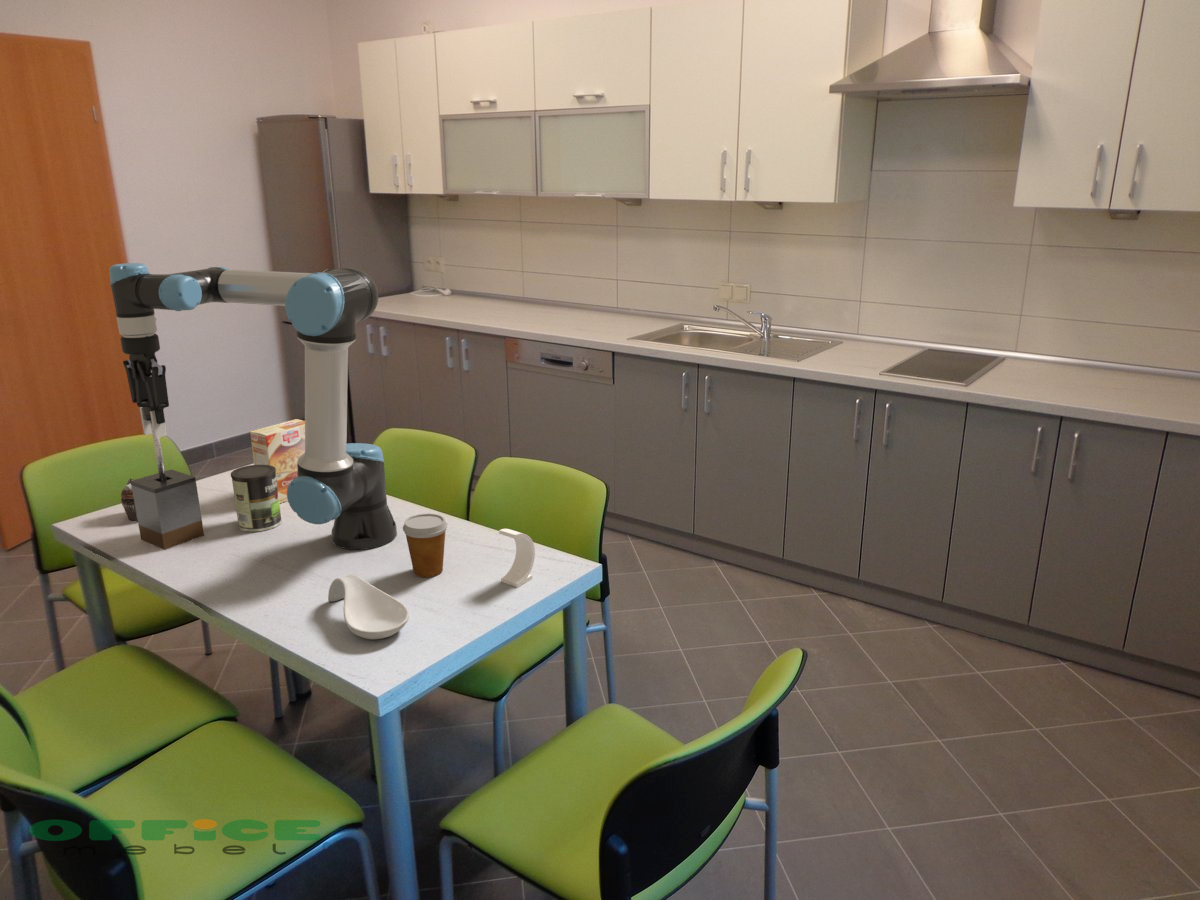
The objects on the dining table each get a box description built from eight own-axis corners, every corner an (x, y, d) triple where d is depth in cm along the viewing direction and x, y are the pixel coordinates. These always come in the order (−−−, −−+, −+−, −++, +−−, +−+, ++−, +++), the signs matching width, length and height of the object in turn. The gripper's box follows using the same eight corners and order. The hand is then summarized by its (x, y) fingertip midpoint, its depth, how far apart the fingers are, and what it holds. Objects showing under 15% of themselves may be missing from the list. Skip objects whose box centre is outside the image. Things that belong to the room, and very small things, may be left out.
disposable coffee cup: (457, 565, 191) (455, 515, 188) (436, 583, 183) (433, 532, 179) (420, 559, 194) (416, 510, 191) (397, 577, 186) (393, 526, 182)
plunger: (187, 488, 203) (174, 404, 197) (158, 497, 197) (144, 411, 191) (170, 482, 207) (157, 400, 200) (142, 491, 201) (127, 407, 195)
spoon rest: (421, 633, 163) (419, 600, 161) (364, 655, 156) (361, 620, 154) (363, 590, 180) (360, 559, 178) (310, 608, 173) (306, 576, 171)
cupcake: (125, 526, 213) (118, 488, 210) (124, 513, 221) (117, 476, 218) (167, 518, 217) (161, 481, 214) (165, 506, 225) (159, 470, 222)
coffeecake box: (274, 506, 225) (265, 435, 219) (257, 500, 229) (248, 431, 223) (320, 489, 237) (313, 421, 231) (303, 484, 241) (295, 417, 235)
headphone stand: (501, 581, 184) (499, 530, 180) (519, 571, 188) (517, 521, 185) (517, 587, 181) (515, 535, 177) (535, 577, 186) (534, 525, 182)
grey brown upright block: (204, 535, 207) (195, 477, 202) (164, 549, 199) (154, 489, 194) (180, 526, 212) (171, 469, 208) (141, 540, 204) (130, 481, 200)
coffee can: (288, 516, 219) (281, 464, 214) (272, 532, 209) (265, 478, 205) (248, 516, 219) (241, 463, 215) (230, 532, 209) (223, 477, 205)
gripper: (176, 335, 189) (191, 437, 196) (135, 328, 198) (151, 425, 205) (143, 341, 183) (160, 445, 190) (102, 333, 192) (120, 433, 199)
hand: (155, 434), depth 198 cm, fingers closed on plunger, 4 cm apart
